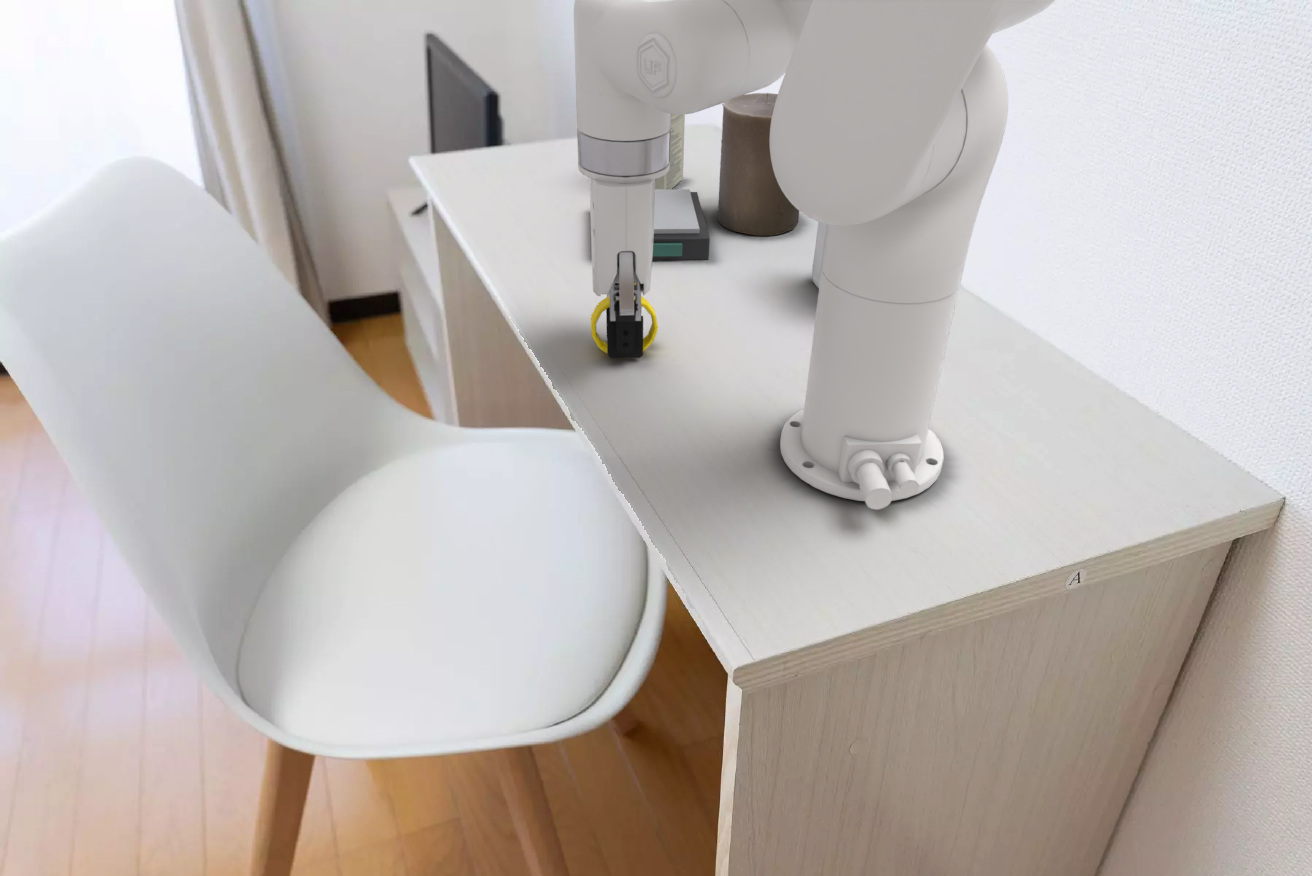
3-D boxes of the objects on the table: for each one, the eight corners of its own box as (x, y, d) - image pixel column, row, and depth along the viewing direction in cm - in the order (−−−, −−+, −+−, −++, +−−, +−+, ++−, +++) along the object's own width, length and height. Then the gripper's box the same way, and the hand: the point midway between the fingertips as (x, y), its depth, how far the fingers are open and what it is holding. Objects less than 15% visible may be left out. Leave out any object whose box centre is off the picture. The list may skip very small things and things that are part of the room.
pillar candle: (807, 234, 112) (822, 103, 104) (725, 238, 111) (733, 106, 102) (785, 203, 120) (797, 79, 112) (708, 207, 119) (715, 81, 110)
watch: (654, 342, 91) (655, 284, 87) (658, 357, 88) (659, 298, 85) (590, 346, 90) (589, 287, 86) (593, 361, 88) (591, 302, 84)
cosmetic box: (654, 174, 128) (656, 79, 121) (684, 180, 126) (687, 84, 119) (632, 190, 123) (632, 92, 116) (663, 196, 122) (665, 97, 115)
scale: (709, 261, 106) (710, 234, 104) (599, 262, 105) (599, 235, 103) (696, 211, 118) (697, 186, 116) (597, 212, 117) (597, 187, 115)
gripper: (577, 120, 85) (583, 308, 95) (577, 185, 72) (583, 395, 82) (663, 120, 85) (659, 307, 96) (678, 185, 72) (671, 393, 83)
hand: (624, 346), depth 89 cm, fingers closed on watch, 2 cm apart
